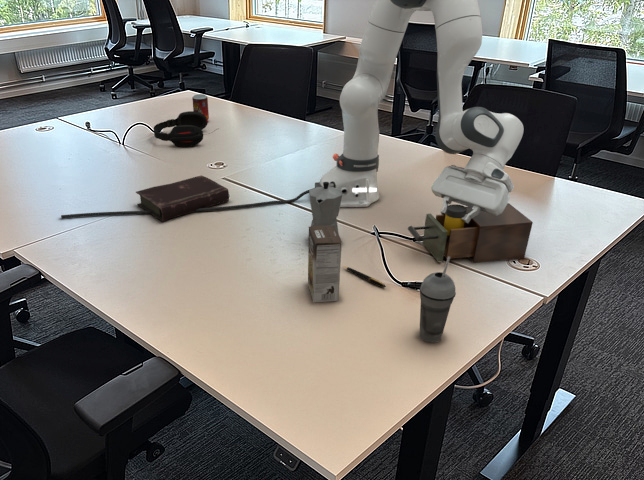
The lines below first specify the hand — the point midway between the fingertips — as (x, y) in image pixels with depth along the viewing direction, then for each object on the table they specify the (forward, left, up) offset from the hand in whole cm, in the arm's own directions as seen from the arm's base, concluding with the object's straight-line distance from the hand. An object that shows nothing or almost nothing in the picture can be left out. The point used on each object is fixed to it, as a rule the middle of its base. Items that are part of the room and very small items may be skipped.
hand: (453, 218), depth 154 cm
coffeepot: (-31, +14, -11) cm, 36 cm away
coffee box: (-38, -14, -11) cm, 42 cm away
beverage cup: (-19, -36, -11) cm, 42 cm away
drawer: (-1, 0, -10) cm, 10 cm away
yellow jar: (+1, 0, -4) cm, 4 cm away
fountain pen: (-26, -9, -11) cm, 30 cm away
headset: (-67, +121, -11) cm, 139 cm away
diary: (-71, +49, -11) cm, 87 cm away
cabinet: (+12, 0, -11) cm, 16 cm away
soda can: (-60, +147, -11) cm, 159 cm away
